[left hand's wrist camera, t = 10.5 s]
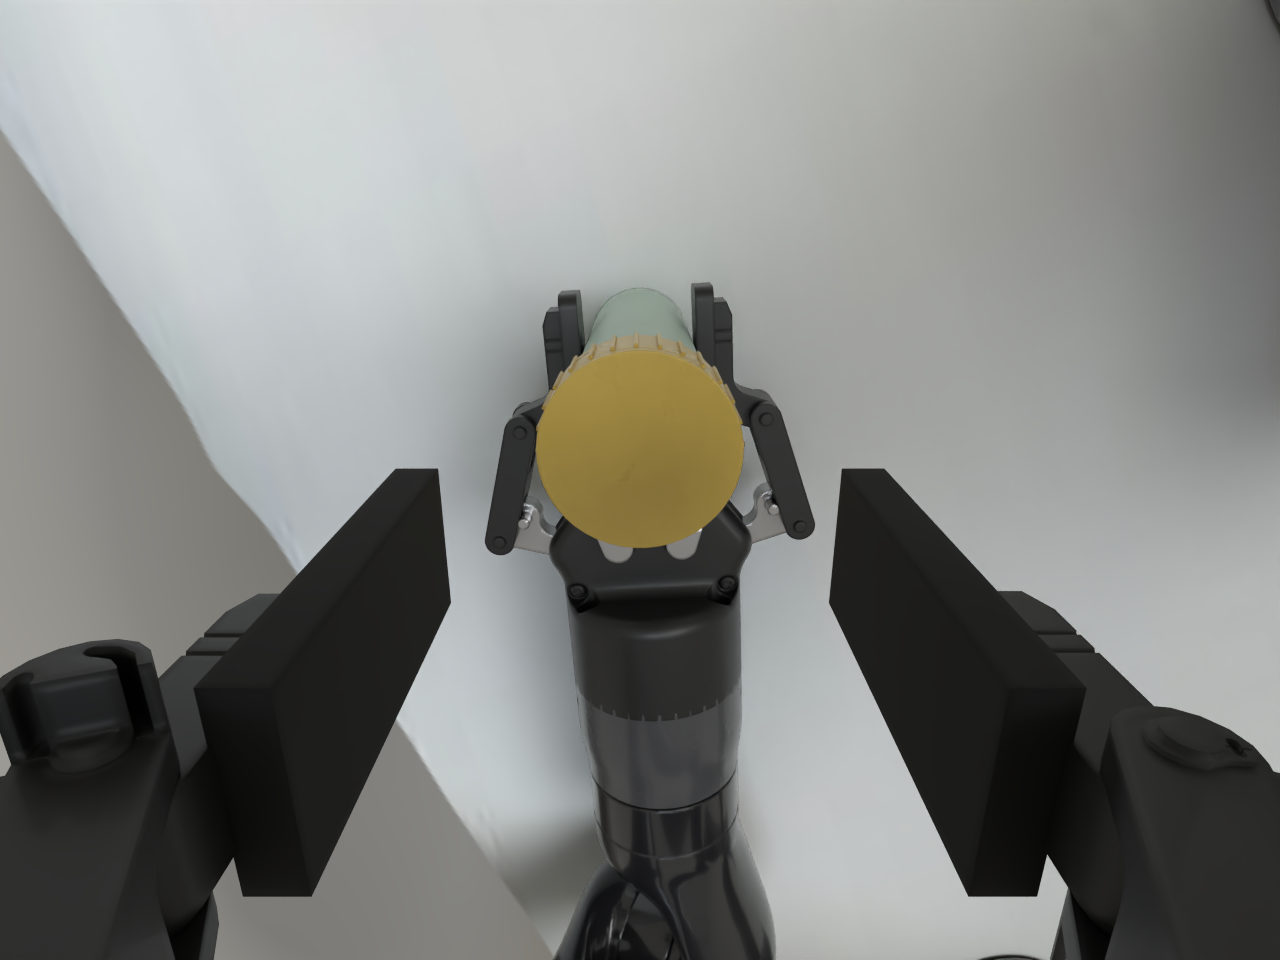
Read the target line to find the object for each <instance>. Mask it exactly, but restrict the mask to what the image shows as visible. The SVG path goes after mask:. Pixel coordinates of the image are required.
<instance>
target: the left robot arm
mask: <svg viewBox="0 0 1280 960" xmlns="http://www.w3.org/2000/svg"><path fill="white" fill-rule="evenodd" d="M1269 1H1270V4H1271V7H1272V9H1273V12H1274V15H1275V17H1276V19H1277V21H1278V23H1279V25H1280V0H1269ZM450 604H451V598H450V588H449V578H448V567H447V557H446V547H445V536H444V526H443V516H442V505H441V495H440V485H439V474H438V469H395V470H394V471H393V472H392V473H391V474H390V476H389V477H388V478H387V479H386V480H385V481H384V482H383V483H382V484H381V485H380V486H379V487H378V488H377V490H376V491H375V492H374V493H373V494H372V495H371V496H370V497H369V498H368V499H367V500H366V501H365V503H364V504H363V505H362V506H361V507H360V508H359V509H358V510H357V511H356V512H355V513H354V514H353V516H352V517H351V518H350V519H349V520H348V521H347V522H346V523H345V524H344V525H343V526H342V527H341V529H340V530H339V531H338V532H337V533H336V534H335V535H334V536H333V537H332V538H331V539H330V540H329V542H328V543H327V544H326V545H325V546H324V547H323V548H322V549H321V550H320V551H319V552H318V553H317V555H316V556H315V557H314V558H313V559H312V560H311V561H310V562H309V563H308V564H307V565H306V566H305V568H304V569H303V570H302V571H301V572H300V573H299V574H298V575H297V576H296V577H295V578H294V579H293V581H292V582H291V583H290V584H289V585H288V586H287V587H286V588H285V589H284V590H283V591H282V592H281V593H280V594H257V595H256V596H254V597H252V598H250V599H248V600H247V601H245V602H243V603H241V604H239V605H238V606H236V607H234V608H232V609H230V610H229V611H227V612H225V613H224V614H223V615H222V617H220V618H219V619H218V620H217V621H216V622H215V623H214V624H213V625H212V626H211V627H210V628H209V629H208V630H207V631H206V632H205V633H204V638H199V639H198V640H197V641H196V642H195V643H194V644H193V645H192V646H191V647H190V648H189V649H188V650H187V651H186V656H181V657H180V658H179V659H178V660H177V661H176V662H175V663H174V664H173V665H172V666H171V667H170V668H169V669H168V670H166V671H165V673H163V674H162V675H161V676H160V677H159V678H158V676H157V672H156V669H155V665H154V661H153V657H152V653H151V650H150V649H149V648H147V647H146V646H144V645H143V644H141V643H140V642H135V641H128V640H121V639H113V640H101V641H90V642H86V643H82V644H77V645H73V646H69V647H65V648H61V649H58V650H55V651H53V652H50V653H47V654H45V655H42V656H40V657H37V658H35V659H32V660H29V661H27V662H26V663H24V664H22V665H21V666H19V667H17V668H15V669H14V670H12V671H10V672H8V673H7V674H5V675H3V676H2V677H1V678H0V734H1V737H2V739H3V742H4V745H5V748H6V751H7V754H8V757H9V759H10V762H11V766H10V768H9V770H8V772H7V773H6V775H5V776H1V777H0V960H214V953H215V947H216V940H217V933H218V927H219V921H218V913H217V906H216V902H215V899H214V895H213V889H214V887H215V886H216V884H217V883H218V881H219V879H220V878H221V876H222V875H223V873H224V871H225V870H226V868H227V867H228V865H229V863H230V862H231V860H232V858H233V857H234V861H235V865H236V869H237V873H238V878H239V882H240V886H241V890H242V894H243V896H244V897H311V896H312V894H313V892H314V890H315V888H316V886H317V884H318V882H319V880H320V878H321V875H322V873H323V871H324V869H325V867H326V865H327V863H328V861H329V859H330V856H331V854H332V852H333V850H334V848H335V846H336V844H337V842H338V840H339V838H340V835H341V833H342V831H343V829H344V827H345V825H346V823H347V821H348V819H349V817H350V814H351V812H352V810H353V808H354V806H355V804H356V802H357V800H358V798H359V795H360V793H361V791H362V789H363V787H364V785H365V783H366V781H367V779H368V776H369V774H370V772H371V770H372V768H373V766H374V764H375V762H376V760H377V758H378V755H379V753H380V751H381V749H382V747H383V745H384V743H385V741H386V738H387V736H388V734H389V732H390V730H391V728H392V726H393V724H394V722H395V720H396V717H397V715H398V713H399V711H400V709H401V707H402V705H403V703H404V701H405V699H406V696H407V694H408V692H409V690H410V688H411V686H412V684H413V682H414V680H415V677H416V675H417V673H418V671H419V669H420V667H421V665H422V663H423V661H424V658H425V656H426V654H427V652H428V650H429V648H430V646H431V644H432V642H433V640H434V637H435V635H436V633H437V631H438V629H439V627H440V625H441V623H442V621H443V618H444V616H445V614H446V612H447V610H448V608H449V606H450ZM829 604H830V606H831V608H832V610H833V612H834V614H835V616H836V618H837V621H838V623H839V625H840V627H841V629H842V631H843V633H844V635H845V637H846V640H847V642H848V644H849V646H850V648H851V650H852V652H853V654H854V656H855V658H856V661H857V663H858V665H859V667H860V669H861V671H862V673H863V675H864V677H865V680H866V682H867V684H868V686H869V688H870V690H871V692H872V694H873V696H874V699H875V701H876V703H877V705H878V707H879V709H880V711H881V713H882V715H883V717H884V720H885V722H886V724H887V726H888V728H889V730H890V732H891V734H892V736H893V739H894V741H895V743H896V745H897V747H898V749H899V751H900V753H901V755H902V758H903V760H904V762H905V764H906V766H907V768H908V770H909V772H910V774H911V776H912V779H913V781H914V783H915V785H916V787H917V789H918V791H919V793H920V795H921V798H922V800H923V802H924V804H925V806H926V808H927V810H928V812H929V814H930V817H931V819H932V821H933V823H934V825H935V827H936V829H937V831H938V833H939V835H940V838H941V840H942V842H943V844H944V846H945V848H946V850H947V852H948V854H949V857H950V859H951V861H952V863H953V865H954V867H955V869H956V871H957V873H958V876H959V878H960V880H961V882H962V884H963V886H964V888H965V890H966V892H967V894H968V897H1037V894H1038V890H1039V886H1040V882H1041V878H1042V873H1043V869H1044V865H1045V861H1046V857H1047V854H1048V856H1049V858H1050V859H1051V861H1052V862H1053V864H1054V866H1055V867H1056V869H1057V870H1058V872H1059V874H1060V875H1061V877H1062V878H1063V880H1064V882H1065V883H1066V885H1067V886H1068V891H1067V895H1066V899H1065V902H1064V906H1063V910H1062V914H1061V918H1060V922H1059V926H1058V930H1057V934H1056V938H1055V941H1054V945H1053V949H1052V953H1051V957H1050V960H1066V959H1067V960H1280V773H1277V772H1273V770H1272V768H1271V767H1270V765H1269V763H1268V762H1267V761H1266V760H1265V759H1264V758H1263V756H1262V755H1261V754H1260V753H1259V752H1258V751H1257V749H1256V748H1255V747H1254V746H1253V745H1251V744H1250V743H1248V742H1247V741H1245V740H1244V739H1243V738H1241V737H1240V736H1238V735H1237V734H1235V733H1234V732H1232V731H1231V730H1229V729H1227V728H1225V727H1223V726H1221V725H1219V724H1216V723H1214V722H1212V721H1210V720H1208V719H1205V718H1203V717H1201V716H1198V715H1194V714H1191V713H1187V712H1184V711H1180V710H1177V709H1173V708H1167V707H1157V706H1153V705H1152V704H1151V703H1150V702H1149V701H1148V700H1147V699H1146V698H1145V697H1144V696H1143V695H1142V694H1141V693H1140V692H1139V691H1138V690H1137V689H1136V688H1135V687H1134V686H1133V685H1132V684H1131V683H1130V682H1129V681H1128V680H1126V679H1125V678H1124V677H1123V676H1122V675H1121V674H1120V673H1119V672H1118V671H1117V670H1116V669H1115V668H1114V667H1113V666H1112V665H1111V664H1110V663H1109V662H1108V661H1107V660H1106V659H1105V658H1104V657H1103V656H1102V655H1101V654H1100V653H1095V651H1094V649H1095V648H1094V647H1093V646H1092V645H1091V644H1090V643H1089V642H1088V641H1087V640H1086V639H1085V638H1083V637H1082V636H1081V635H1077V634H1076V630H1075V629H1074V628H1073V627H1072V626H1071V625H1070V624H1069V623H1068V622H1067V621H1066V620H1065V619H1064V618H1063V617H1062V616H1061V615H1060V614H1059V613H1058V612H1057V611H1056V610H1055V609H1053V608H1051V607H1049V606H1048V605H1046V604H1044V603H1042V602H1040V601H1039V600H1037V599H1035V598H1033V597H1031V596H1029V595H1028V594H1026V593H1024V592H1022V591H997V590H996V589H995V588H994V587H993V586H992V585H991V584H990V583H989V582H988V580H987V579H986V578H985V577H984V576H983V575H982V574H981V573H980V572H979V571H978V570H977V569H976V568H975V566H974V565H973V564H972V563H971V562H970V561H969V560H968V559H967V558H966V557H965V556H964V555H963V553H962V552H961V551H960V550H959V549H958V548H957V547H956V546H955V545H954V544H953V543H952V542H951V540H950V539H949V538H948V537H947V536H946V535H945V534H944V533H943V532H942V531H941V530H940V529H939V527H938V526H937V525H936V524H935V523H934V522H933V521H932V520H931V519H930V518H929V517H928V516H927V514H926V513H925V512H924V511H923V510H922V509H921V508H920V507H919V506H918V505H917V504H916V503H915V501H914V500H913V499H912V498H911V497H910V496H909V495H908V494H907V493H906V492H905V491H904V490H903V488H902V487H901V486H900V485H899V484H898V483H897V482H896V481H895V480H894V479H893V478H892V477H891V476H890V474H889V473H888V472H887V471H886V470H885V469H842V474H841V485H840V495H839V505H838V516H837V526H836V536H835V547H834V557H833V567H832V578H831V588H830V598H829Z"/></svg>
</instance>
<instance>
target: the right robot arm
mask: <svg viewBox="0 0 1280 960" xmlns="http://www.w3.org/2000/svg"><path fill="white" fill-rule="evenodd" d="M691 299H692V328H693V344H694V347H695V350H696V352H697V351H699V352H700V353H701V354H702V357H703V359H704V360H705V361H706V362H707V363H708V364H709V365H710V366H711V367H713V366H715V367H716V368H717V371H718V373H719V375H720V377H721V379H722V381H723V385H724V384H727V386H728V388H729V390H730V392H731V394H732V396H733V398H734V400H735V403H733V404H734V405H735V407H736V409H737V411H738V413H739V415H740V418H741V420H742V423H743V424H741V425H744V426H747V427H750V431H751V434H752V437H753V440H754V443H755V446H756V449H757V452H758V455H759V458H760V461H761V464H762V467H763V471H764V474H765V477H766V480H767V482H766V483H763V484H761V485H759V486H758V487H757V488H756V489H755V491H754V494H753V499H754V506H753V509H752V510H751V512H750V513H749V514H747V515H746V516H742V515H741V514H740V512H739V511H738V510H737V509H736V508H735V506H734V505H733V504H732V503H731V502H730V500H728V502H727V503H726V505H725V506H724V508H723V509H722V510H721V511H720V512H719V514H718V515H717V516H716V517H715V518H714V519H713V520H712V521H710V522H709V523H708V524H707V525H706V526H704V527H703V528H702V529H700V530H699V531H697V532H696V533H694V534H692V535H690V536H688V537H686V538H684V539H682V540H679V541H677V542H674V543H671V544H667V545H663V546H658V547H650V548H630V547H621V546H617V545H613V544H609V543H606V542H603V541H600V540H598V539H595V538H593V537H592V536H590V535H588V534H586V533H584V532H583V531H581V530H580V529H578V528H577V527H575V526H574V525H573V524H572V523H570V522H569V521H568V520H567V519H566V518H565V517H564V516H562V518H561V519H560V521H559V522H558V524H557V525H556V527H554V526H551V525H549V524H548V523H547V522H546V521H545V519H544V517H543V506H542V504H541V502H540V501H539V500H538V499H537V498H535V497H532V496H528V492H529V487H530V482H531V477H532V472H533V467H534V462H535V456H536V452H535V449H536V440H537V432H538V431H536V427H537V425H538V423H539V421H540V418H541V416H542V414H543V412H544V410H543V409H542V406H543V404H544V402H545V400H546V398H547V396H548V394H549V393H548V394H547V395H546V396H544V397H543V398H540V399H538V400H536V401H533V402H525V403H522V404H520V405H519V406H518V407H517V408H516V409H515V411H514V413H513V416H512V418H511V419H510V420H509V421H508V423H507V424H506V426H505V429H504V435H503V441H502V446H501V452H500V458H499V463H498V469H497V475H496V480H495V486H494V492H493V497H492V503H491V509H490V514H489V520H488V525H487V531H486V537H485V544H486V547H487V549H488V550H489V551H490V552H492V553H493V554H496V555H505V554H508V553H509V552H510V551H511V550H512V549H513V547H515V548H520V549H525V550H529V551H534V552H539V553H544V554H549V555H550V559H551V561H552V563H553V565H554V566H555V567H556V569H557V570H558V571H559V573H560V574H561V576H562V578H563V580H564V583H565V588H566V597H567V606H568V616H569V625H570V635H571V644H572V654H573V663H574V673H575V682H576V691H577V701H578V710H579V719H580V726H581V732H582V736H583V741H584V744H585V747H586V751H587V755H588V759H589V764H590V773H591V783H592V793H593V803H594V813H595V821H596V829H597V835H598V839H599V843H600V846H601V848H602V851H603V854H604V856H605V858H606V860H605V861H604V862H603V863H601V864H600V866H599V867H598V868H597V869H596V870H595V872H594V873H593V874H592V876H591V877H590V879H589V881H588V883H587V885H586V887H585V889H584V891H583V893H582V895H581V898H580V900H579V902H578V905H577V907H576V909H575V912H574V914H573V917H572V919H571V922H570V924H569V926H568V929H567V931H566V933H565V935H564V937H563V940H562V942H561V944H560V946H559V948H558V950H557V952H556V954H555V956H554V958H553V960H776V939H775V931H774V923H773V917H772V913H771V909H770V906H769V902H768V899H767V895H766V892H765V889H764V886H763V884H762V881H761V878H760V875H759V873H758V870H757V867H756V864H755V862H754V859H753V856H752V853H751V850H750V847H749V844H748V841H747V838H746V835H745V833H744V830H743V828H742V826H741V823H740V821H739V817H738V766H737V751H738V743H739V738H740V731H741V720H742V688H741V624H740V572H741V568H742V565H743V563H744V561H745V560H746V558H747V556H748V555H749V553H750V550H751V546H752V543H755V542H758V541H761V540H765V539H768V538H771V537H774V536H777V535H780V534H783V533H786V532H787V534H788V535H789V536H790V537H791V538H793V539H798V540H801V539H805V538H807V537H809V536H810V535H811V534H812V533H813V531H814V528H815V522H814V518H813V515H812V512H811V509H810V505H809V502H808V499H807V496H806V492H805V489H804V486H803V483H802V479H801V476H800V473H799V470H798V466H797V463H796V460H795V457H794V453H793V450H792V447H791V444H790V441H789V437H788V434H787V431H786V428H785V424H784V421H783V418H782V415H781V412H780V410H779V409H778V407H777V406H776V404H775V403H774V401H773V400H772V398H771V397H770V395H769V394H768V393H767V392H765V391H763V390H759V389H757V390H753V389H749V388H746V387H742V386H740V385H738V384H737V383H735V382H734V380H733V343H732V314H731V311H730V309H729V307H728V304H727V302H726V301H725V300H724V298H723V297H719V298H714V294H713V286H712V285H711V284H710V283H709V282H708V283H692V284H691ZM543 335H544V345H545V354H546V364H547V374H548V383H549V392H550V390H554V389H552V388H553V386H554V384H555V382H556V379H557V377H558V375H559V373H560V372H561V371H562V372H565V370H566V369H567V368H568V367H569V366H570V365H571V362H572V360H573V358H574V357H575V356H576V355H577V356H578V357H579V356H581V355H582V354H583V351H584V349H585V338H584V326H583V315H582V303H581V294H580V290H571V291H561V292H560V294H559V295H558V307H551V308H550V309H549V310H548V311H547V312H546V316H545V319H544V323H543ZM996 960H1032V959H1026V958H1002V959H996Z"/></svg>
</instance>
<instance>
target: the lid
mask: <svg viewBox="0 0 1280 960" xmlns="http://www.w3.org/2000/svg"><path fill="white" fill-rule="evenodd" d="M552 389H554V390H550V392H549V394H548V396H547V398H546V400H545V402H544V404H543V406H542V409H543V410H544V412H543V414H542V416H541V418H540V421H539V423H538V425H537V427H536V431H538V432H537V440H536V449H535V452H536V459H537V465H538V470H539V475H540V478H541V480H542V483H543V486H544V488H545V490H546V492H547V494H548V496H549V498H550V499H551V501H552V502H553V504H554V505H555V507H556V508H557V509H558V510H559V512H560V513H561V514H562V515H563V516H564V517H565V518H566V519H567V520H568V521H569V522H570V523H572V524H573V525H574V526H575V527H577V528H578V529H580V530H581V531H583V532H584V533H586V534H588V535H590V536H592V537H593V538H595V539H598V540H600V541H603V542H606V543H609V544H613V545H617V546H621V547H630V548H650V547H658V546H663V545H667V544H671V543H674V542H677V541H679V540H682V539H684V538H686V537H688V536H690V535H692V534H694V533H696V532H697V531H699V530H700V529H702V528H703V527H704V526H706V525H707V524H708V523H709V522H710V521H712V520H713V519H714V518H715V517H716V516H717V515H718V514H719V512H720V511H721V510H722V509H723V508H724V506H725V505H726V503H727V502H728V500H729V499H730V497H731V496H732V494H733V492H734V490H735V487H736V485H737V483H738V480H739V477H740V474H741V469H742V464H743V453H744V446H745V443H744V440H743V433H742V429H741V424H743V423H742V420H741V418H740V415H739V413H738V411H737V409H736V407H735V405H734V404H733V403H735V400H734V398H733V396H732V394H731V392H730V390H729V388H728V386H727V384H724V385H723V381H722V379H721V377H720V375H719V373H718V371H717V368H716V367H715V366H713V367H711V366H710V365H709V364H708V363H707V362H706V361H705V360H704V359H703V357H702V354H701V353H700V352H699V351H697V353H695V352H694V351H692V350H691V349H689V348H687V347H686V346H684V345H683V343H682V341H680V340H678V342H675V341H672V340H669V339H666V338H662V337H661V334H657V336H650V335H639V333H638V332H634V335H630V336H623V337H618V338H617V337H616V335H614V336H612V339H611V340H607V341H605V342H603V343H600V344H598V345H596V344H595V343H593V344H592V345H591V348H590V349H589V350H587V351H586V352H584V353H583V354H582V355H581V356H579V357H578V356H577V355H576V356H575V357H574V358H573V360H572V362H571V365H570V366H569V367H568V368H567V369H566V370H565V372H562V371H561V372H560V373H559V375H558V377H557V379H556V382H555V384H554V386H553V388H552Z"/></svg>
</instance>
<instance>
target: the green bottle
mask: <svg viewBox="0 0 1280 960" xmlns="http://www.w3.org/2000/svg"><path fill="white" fill-rule="evenodd" d="M634 332H638V333H639V335H650V336H657V334H661V337H662V338H666V339H669V340H672V341H675V342H678V340H680V341H682V343H683V345H684V346H686V347H687V348H689V349H691V350H692V351H694V352H695V353H697V352H696V350H695V347H694V344H693V342H692V339H691V337H690V334H689V331H688V329H687V326H686V324H685V321H684V318H683V316H682V314H681V312H680V310H679V309H678V307H677V306H676V305H675V304H674V303H673V302H672V301H671V300H670V299H669V298H668V297H667V296H665V295H663V294H662V293H660V292H657V291H655V290H651V289H646V288H634V289H628V290H625V291H622V292H620V293H618V294H616V295H615V296H613V297H612V298H610V299H609V300H608V301H607V302H606V303H605V304H604V305H603V307H602V308H601V310H600V311H599V313H598V315H597V317H596V320H595V323H594V325H593V328H592V331H591V333H590V336H589V338H588V341H587V344H586V346H585V349H584V351H583V353H584V352H586V351H587V350H589V349H590V348H591V345H592V344H593V343H595V344H596V345H598V344H600V343H603V342H605V341H607V340H611V339H612V336H614V335H616V337H617V338H618V337H623V336H630V335H634Z"/></svg>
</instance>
